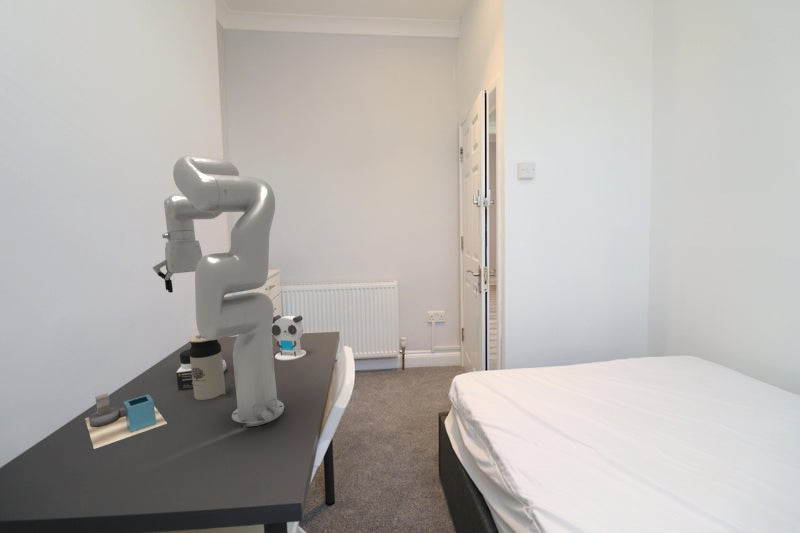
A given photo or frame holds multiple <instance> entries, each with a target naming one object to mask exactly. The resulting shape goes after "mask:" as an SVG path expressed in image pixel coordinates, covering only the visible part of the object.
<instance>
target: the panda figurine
mask: <svg viewBox="0 0 800 533" xmlns="http://www.w3.org/2000/svg"><path fill="white" fill-rule="evenodd" d="M302 321H303V316H302V315H297V316H294V315H285V316H281V315H280V314H278V315H275V316H273V323H272V336H273V337H274V338H275V339H276V341H277V342H276V346H277V347H278V348H279V350H280V352H278V353H276V354H275V355H274V359H276V360H278V361H292V360H298V359H300V358H303V357H305V356H306V354H307V351H306V350H304V349H302V346H301V337H302V336H303V334H304V326H303V323H302Z"/></svg>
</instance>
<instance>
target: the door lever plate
mask: <svg viewBox="0 0 800 533" xmlns="http://www.w3.org/2000/svg"><path fill="white" fill-rule="evenodd" d="M95 404H96V410H97V411H96V412H93V413H91V414H89V417H86V418H85V417H84V419H85V423H86V427H87V430H88V433H89V437H90V441H91V444H92V447H93V449H94V450H95V449H99V448H101V447H104V446H106V445H110V444H112V443H116V442H118V441H121V440H125V439H127V438H130V437H132V436H135V435H138V434H141V433H143V432H144V433H145V432H147V431H150V430H154V429H155V428H159V427H162V426H165V425H167V424H168V423H167V421H166V419H165V418H164V417H163V415H162V414H161V413H160V411H159V410H158V409H157V408H156V406H155V405H154V409H155V417H156V424H154V425H151V426H148V427H146V428H143V429H140V430H137V431H134V432H130V430H129V429H128V427H127V423H126V416H125V408H124V406H122V407H121V406H120V407H111V405H110V404H111V403H110V396H109V394H108V392H107V393H103V394H100V395H95Z"/></svg>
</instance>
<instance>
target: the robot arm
mask: <svg viewBox="0 0 800 533" xmlns="http://www.w3.org/2000/svg"><path fill="white" fill-rule="evenodd" d="M172 176H173V181H174V184H175V185H176V187H177V189H178V190H179V192H180V193H181V194H179V193H178V194H171V195H169V196H168V197H167V198H165V199H164V200H163V205H164V206H163V207H164V213H165V214H164V215H165V223H166V224H165V225H166V233H162V236H161V237H162V239H166V240H167V242H166V241H165V248H164V249H165V251H164V255H165V256H164V259H165V260H163V261H161V262H160V263H157V264H156V265H154V266H152V270H153V271H154V272H155V273H156V274H157V276H159V277H160V278H162V279H163V280H164V285H165V290H166V291H168V293H170V294H171V293H173V292H174V290H173V283H172V282H173V281H172V280H173V279H171V278H172V276H173V275H174V274H184V273H192V272H194V284H195V285H194V286H195V288H194V289H195V293H194V294H195V295H194V296H195V298H194V299H195V324H196V329H197V331H198V333H199V334H198V335H201V336H202V337H203V338H204V339H206V340H217V339H218V340H223V339H225V338H231V337H234V336H237V337H236V339H235V341H234V344H233V347H232V353H231V354H232V364H233V374H234V385H235V395H236V404H237V406H236V407H237V408H236V409H235V410H234V411H233V412H232V414H231V419H232V420H233V421H234V422H237V423H241V424H243V425H241V427H243V428H244V427H247V428H248V427H249V428H250V427H255V426H256V427H257V426H261V425H264V424H268V423H270V422H273V421H274V420H276V419H278V418H279V417H280V416H282V414H283V413H284V410H285V404H284V403H283V401H281V400H279V399H278V394H277V384H276V372H275V370H276V369H275V360H274V359H275V357H274V348H273V334H272V326H273V324H272V323H273V317H274V313H275V312H274V304H273V301H272V299H271V298H270V296H268V295H267V294H265V293H263V292H258V291H257V292H253V291H252V290H257V289H260V288H262V287H264V286H265V285H266V283H267V281H268V278H269V264H270V263H269V261H270V260H269V258H270V232H271V228H272V224H273V221H274V217H275V213H276V197H275V193H274V190H273V188H272V187H271V185H270V184H269V183H268V182H266V181H265V180H263V179H261V178H258V177H254V176H253V177H251V176H245V175H240V173H239V170H238V168H237V167H236V166H235V164H233V163H232V162H230V161H228V160H226V159H223V158H216V157H206V156H205V157H204V156H196V155H185V156H181V157H179V159H177V161H176V162H175V164H174V167H173V172H172ZM223 213H243V214H242V215H241V216H240V217H238V219H237V221H236V223H235V224H234V225H233V226H232V229H231V231H230V249H229V251H228V252H219V253H218V252H216V253H210V254H207V255H203V252H202V249H201V248H202V247H201V244H200V241H199V240H196V233H195V225H194V222H195V221H194V220H214V219H216V218H217V217H219V216H220V215H221V214H223ZM163 267H165V270H166V272H165V273H164V272H162V270H161V269H162V268H163ZM245 291H252V292H245ZM240 292H241V293H240ZM242 292H245V293H242ZM235 293H239V294H235ZM229 294H233V295H229ZM225 295H229V296H225Z"/></svg>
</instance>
